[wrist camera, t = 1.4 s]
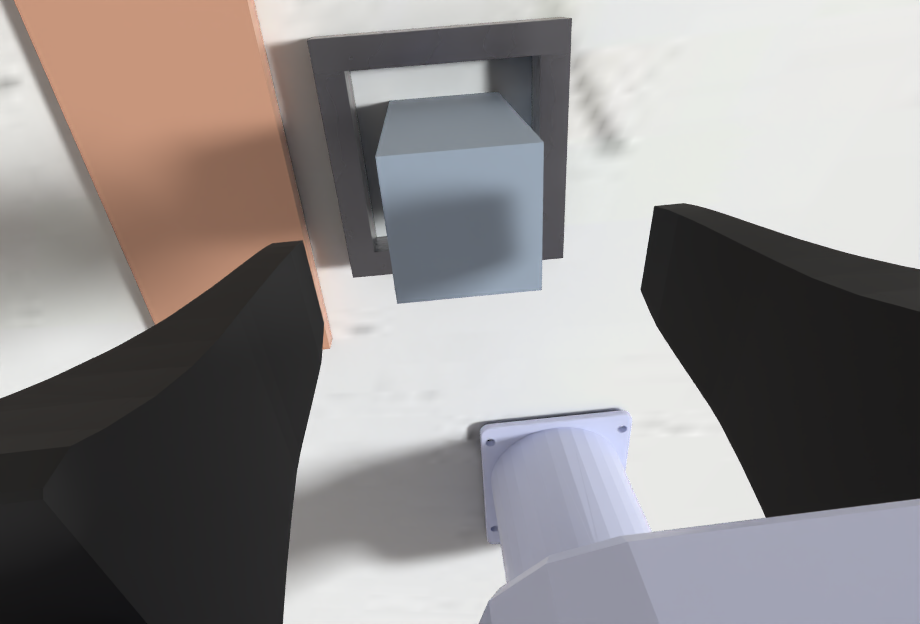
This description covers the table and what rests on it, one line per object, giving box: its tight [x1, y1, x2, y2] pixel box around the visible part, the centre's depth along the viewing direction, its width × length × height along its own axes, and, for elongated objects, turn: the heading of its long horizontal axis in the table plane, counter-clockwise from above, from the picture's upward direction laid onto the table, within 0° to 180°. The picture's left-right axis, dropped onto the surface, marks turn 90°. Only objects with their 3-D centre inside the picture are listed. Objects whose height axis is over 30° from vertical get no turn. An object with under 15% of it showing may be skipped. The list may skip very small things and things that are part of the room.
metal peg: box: [375, 92, 544, 304], centre depth 17 cm, size 4×4×8 cm
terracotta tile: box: [14, 0, 332, 349], centre depth 20 cm, size 16×7×1 cm, turn 4°
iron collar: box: [307, 17, 572, 278], centre depth 20 cm, size 8×8×2 cm
